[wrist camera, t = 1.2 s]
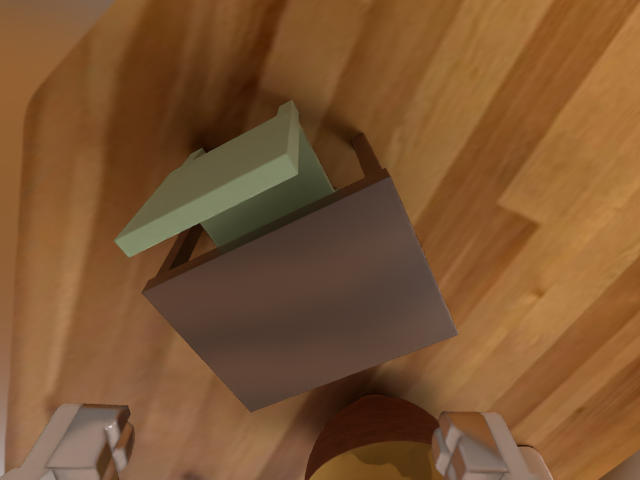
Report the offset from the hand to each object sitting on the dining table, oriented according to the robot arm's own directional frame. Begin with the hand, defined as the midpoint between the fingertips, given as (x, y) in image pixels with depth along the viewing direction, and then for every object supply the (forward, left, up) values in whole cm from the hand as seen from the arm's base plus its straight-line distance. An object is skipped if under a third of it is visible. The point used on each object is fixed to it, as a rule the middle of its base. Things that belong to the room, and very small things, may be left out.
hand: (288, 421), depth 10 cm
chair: (+1, -4, -26) cm, 26 cm away
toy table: (+8, -4, -26) cm, 28 cm away
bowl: (+34, -8, -26) cm, 44 cm away
